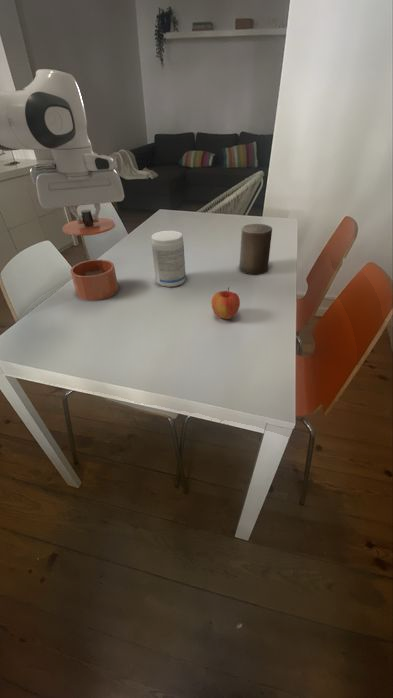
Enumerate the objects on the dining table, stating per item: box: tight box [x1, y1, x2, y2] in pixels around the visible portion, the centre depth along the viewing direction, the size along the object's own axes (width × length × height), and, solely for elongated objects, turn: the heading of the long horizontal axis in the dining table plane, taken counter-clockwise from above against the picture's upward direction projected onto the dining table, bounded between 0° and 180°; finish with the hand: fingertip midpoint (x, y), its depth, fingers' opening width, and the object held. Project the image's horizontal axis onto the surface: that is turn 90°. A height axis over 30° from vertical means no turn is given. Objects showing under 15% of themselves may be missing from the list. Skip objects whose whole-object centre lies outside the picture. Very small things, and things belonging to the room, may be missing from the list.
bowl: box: [70, 259, 119, 301], centre depth 96 cm, size 12×12×8 cm
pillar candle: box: [239, 223, 273, 275], centre depth 104 cm, size 10×10×15 cm
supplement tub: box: [150, 230, 186, 288], centre depth 98 cm, size 10×10×15 cm
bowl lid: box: [61, 209, 116, 237], centre depth 82 cm, size 13×13×5 cm
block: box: [85, 270, 102, 276], centre depth 96 cm, size 5×5×5 cm
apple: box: [210, 286, 241, 320], centre depth 82 cm, size 7×7×8 cm
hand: (88, 222), depth 83 cm, fingers closed on bowl lid, 2 cm apart
